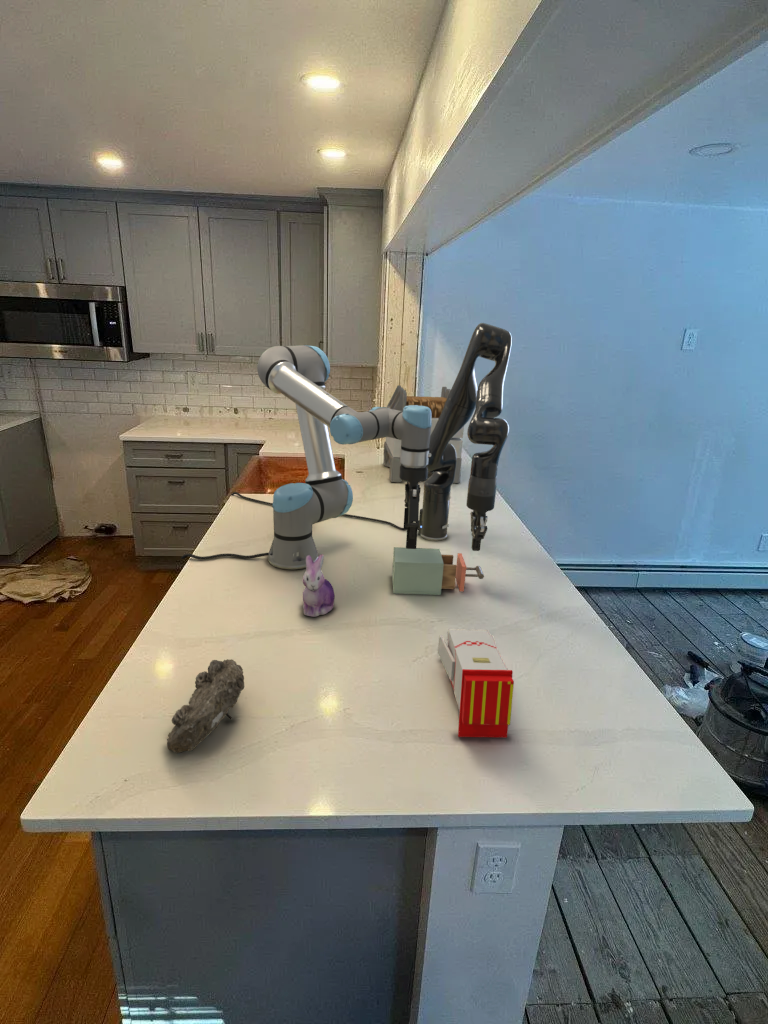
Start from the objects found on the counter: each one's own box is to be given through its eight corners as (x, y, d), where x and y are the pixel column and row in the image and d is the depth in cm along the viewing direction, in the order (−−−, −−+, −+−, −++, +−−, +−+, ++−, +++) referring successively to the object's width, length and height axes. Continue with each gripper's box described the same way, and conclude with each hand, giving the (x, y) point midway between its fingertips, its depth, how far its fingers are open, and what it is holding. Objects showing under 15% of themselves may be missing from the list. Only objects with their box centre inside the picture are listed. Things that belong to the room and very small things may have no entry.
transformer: (382, 463, 289) (386, 382, 275) (445, 464, 293) (451, 384, 279) (390, 482, 257) (394, 392, 243) (460, 483, 261) (468, 394, 247)
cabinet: (437, 578, 168) (439, 548, 165) (440, 594, 158) (443, 563, 155) (392, 577, 168) (393, 547, 164) (393, 593, 158) (395, 561, 155)
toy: (488, 613, 130) (523, 677, 101) (484, 667, 133) (517, 744, 104) (435, 612, 130) (455, 676, 101) (432, 666, 133) (451, 743, 103)
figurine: (307, 621, 142) (307, 567, 137) (294, 603, 150) (293, 551, 145) (342, 614, 146) (343, 561, 141) (327, 596, 154) (328, 545, 149)
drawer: (478, 577, 167) (480, 553, 165) (483, 592, 159) (486, 567, 156) (418, 576, 167) (419, 551, 164) (420, 590, 158) (422, 565, 156)
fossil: (192, 660, 117) (244, 628, 112) (224, 691, 120) (276, 661, 115) (142, 746, 98) (202, 712, 93) (182, 779, 101) (242, 748, 96)
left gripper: (432, 478, 139) (426, 557, 146) (424, 454, 163) (419, 523, 170) (402, 477, 139) (397, 556, 146) (398, 453, 162) (394, 522, 170)
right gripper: (500, 499, 147) (493, 560, 153) (490, 484, 160) (484, 541, 166) (472, 498, 147) (465, 559, 153) (464, 483, 160) (458, 540, 166)
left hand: (409, 538), depth 158 cm, fingers open, 13 cm apart
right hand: (475, 549), depth 159 cm, fingers closed
